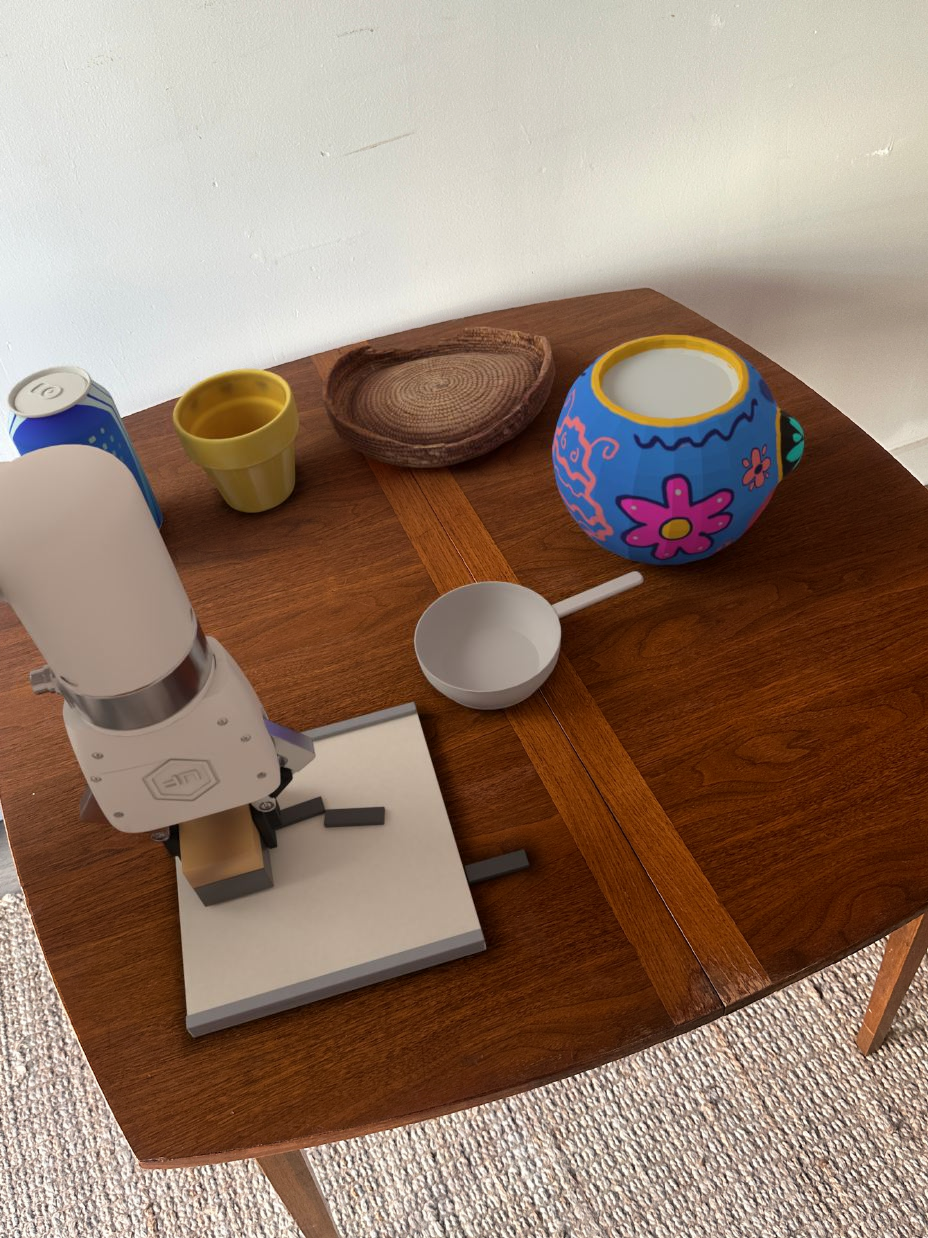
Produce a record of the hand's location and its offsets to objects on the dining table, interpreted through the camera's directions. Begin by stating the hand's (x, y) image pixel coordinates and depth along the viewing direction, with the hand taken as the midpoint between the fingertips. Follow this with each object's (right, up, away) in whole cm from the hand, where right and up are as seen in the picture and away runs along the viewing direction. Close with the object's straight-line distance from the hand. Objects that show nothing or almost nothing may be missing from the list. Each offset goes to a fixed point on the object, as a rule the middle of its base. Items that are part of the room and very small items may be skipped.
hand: (230, 839), depth 67 cm
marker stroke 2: (+8, +1, +1) cm, 8 cm away
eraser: (0, 0, 0) cm, 1 cm away
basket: (+14, +35, +33) cm, 49 cm away
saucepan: (+21, +12, +11) cm, 26 cm away
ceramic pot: (+32, +22, +18) cm, 43 cm away
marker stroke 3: (+17, -2, -1) cm, 18 cm away
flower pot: (-3, +26, +27) cm, 38 cm away
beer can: (-15, +21, +25) cm, 36 cm away
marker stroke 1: (+4, +1, +2) cm, 4 cm away
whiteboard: (+6, -1, 0) cm, 6 cm away
